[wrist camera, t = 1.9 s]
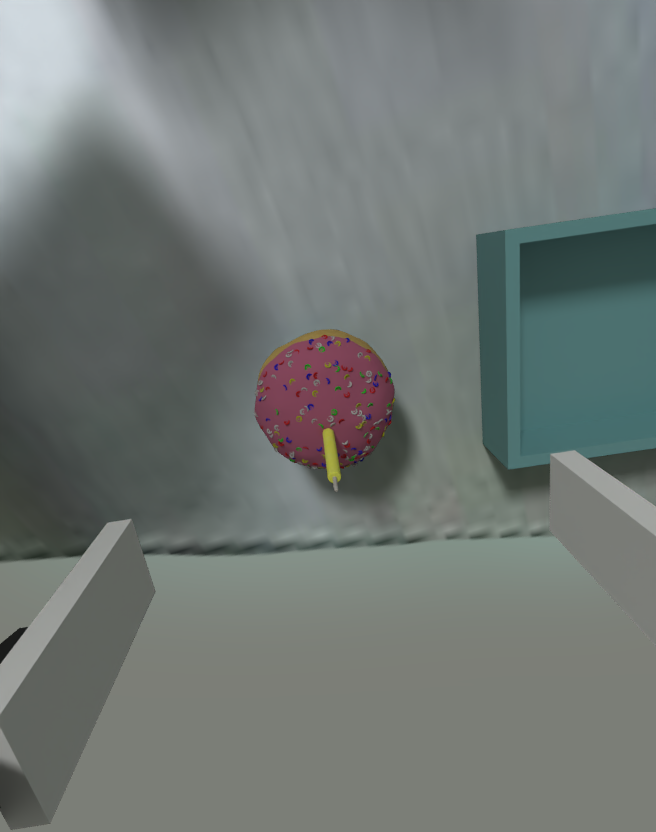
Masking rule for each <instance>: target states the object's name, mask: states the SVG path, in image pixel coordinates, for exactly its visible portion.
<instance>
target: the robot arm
mask: <svg viewBox="0 0 656 832" xmlns="http://www.w3.org/2000/svg"><path fill="white" fill-rule="evenodd" d="M550 531H551V532H552V533H553V535H554V536H555V537H556V538H557V539H558V540H559V541H560V542H561V543H562V544H563V545H564V547H565V548H566V549H567V550H568V551H569V552H570V553H571V554H572V555H573V556H574V558H575V559H577V561H578V562H579V563H580V564H581V565H582V566H583V567H584V568H585V570H587V572H588V573H589V574H590V575H591V576H592V577H593V578H594V579H595V580H596V581H597V583H598V584H599V585H600V586H601V587H602V588H603V589H604V590H605V591H606V592H607V594H608V595H609V596H610V597H611V598H612V599H613V600H614V601H615V602H616V603H617V605H618V606H620V608H621V609H622V610H623V611H624V612H625V613H626V614H627V615H628V617H629V618H630V619H631V620H632V621H633V622H634V623H635V624H636V625H637V626H638V627H639V629H640V630H641V631H642V632H643V633H644V634H645V635H646V636H647V637H648V638H649V639H650V641H651V642H652V643H653V644H654V645H655V646H656V506H654V505H653V504H651V503H650V502H649V501H647V500H646V499H644V498H643V497H641V496H640V495H638V494H637V493H636V492H634V491H633V490H631V489H630V488H628V487H627V486H625V485H624V484H623V483H621V482H620V481H618V480H617V479H615V478H614V477H613V476H611V475H610V474H608V473H607V472H605V471H604V470H602V469H601V468H600V467H598V466H597V465H595V464H594V463H592V462H591V461H590V460H588V459H587V458H585V457H584V456H582V455H581V454H579V453H578V452H577V451H575V450H573V451H566V452H560V453H553V454H550ZM154 593H155V589H154V586H153V582H152V579H151V576H150V573H149V570H148V567H147V564H146V561H145V558H144V555H143V552H142V549H141V545H140V542H139V539H138V536H137V533H136V530H135V527H134V524H133V521H132V519H128V520H121V521H115V522H108V523H107V524H106V525H105V527H104V528H103V529H102V531H101V532H100V533H99V535H98V536H97V537H96V538H95V540H94V541H93V542H92V544H91V545H90V546H89V548H88V549H87V550H86V552H85V553H84V554H83V556H82V557H81V558H80V560H79V561H78V562H77V564H76V565H75V566H74V568H73V569H72V570H71V571H70V573H69V574H68V576H67V577H66V578H65V580H64V581H63V582H62V583H61V585H60V586H59V587H58V589H57V590H56V591H55V593H54V594H53V595H52V597H51V598H50V599H49V601H48V602H47V603H46V605H45V606H44V607H43V609H42V610H41V611H40V613H39V614H38V615H37V617H36V618H35V619H34V620H33V622H32V623H31V625H30V626H29V627H25V628H19V629H18V630H17V631H16V632H14V633H13V634H12V635H11V636H9V637H8V638H7V639H6V640H5V641H3V642H2V643H1V644H0V811H1V813H2V815H3V817H4V819H5V820H6V822H7V824H8V826H9V827H10V829H11V830H13V829H20V828H26V827H32V826H39V825H45V824H50V823H51V821H52V818H53V816H54V814H55V812H56V810H57V807H58V805H59V803H60V801H61V798H62V796H63V794H64V792H65V790H66V787H67V785H68V783H69V781H70V779H71V776H72V774H73V772H74V770H75V767H76V765H77V763H78V761H79V759H80V757H81V754H82V752H83V750H84V748H85V746H86V743H87V741H88V739H89V736H90V735H91V732H92V730H93V728H94V726H95V724H96V721H97V719H98V717H99V715H100V712H101V710H102V708H103V706H104V703H105V701H106V699H107V697H108V695H109V693H110V690H111V688H112V686H113V684H114V681H115V679H116V677H117V675H118V673H119V670H120V668H121V666H122V664H123V662H124V660H125V657H126V655H127V653H128V651H129V649H130V646H131V644H132V642H133V640H134V638H135V635H136V633H137V631H138V629H139V626H140V624H141V622H142V620H143V618H144V615H145V613H146V611H147V609H148V607H149V604H150V602H151V600H152V598H153V596H154Z"/></svg>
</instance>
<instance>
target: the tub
mask: <svg viewBox="0 0 656 832" xmlns="http://www.w3.org/2000/svg"><path fill="white" fill-rule="evenodd" d="M476 240H477V272H478V303H479V335H480V367H481V399H482V431H483V444H484V445H485V446H486V447H487V449H488V450H489V451H490V452H491V453H492V454H493V455H494V456H495V457H496V458H497V459H498V460H499V461H500V462H501V463H502V464H503V465H504V466H505V467H506V468H507V469H508V470H509V469H516V468H523V467H529V466H536V465H543V464H550V454H553V453H560V452H566V451H573V450H575V451H577V452H578V453H579V454H581V455H582V456H584V457H585V458H591V457H598V456H605V455H612V454H619V453H626V452H632V451H639V450H646V449H653V448H656V208H655V209H648V210H641V211H634V212H627V213H621V214H614V215H607V216H600V217H593V218H586V219H579V220H572V221H565V222H558V223H551V224H545V225H538V226H531V227H524V228H517V229H510V230H503V231H497V232H491V233H485V234H479V235H476Z"/></svg>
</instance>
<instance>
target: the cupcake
mask: <svg viewBox="0 0 656 832" xmlns="http://www.w3.org/2000/svg"><path fill="white" fill-rule="evenodd" d="M255 395H256V403H255V412H254V414H255V417H256V420H257V422H258V424H259V425H260V428H261V429H262V430H263V432H264V433H265V435H266V436H267V438H268V439H269V441H270V443H271V444H272V446H273V447H274V450H275V451H276V452H277V451H278V452H279V453H280V454H281V455H283V456H284V457H286V458H288V459H289V460H290V461H292V462H294V463H298V464H300V465H305V466H307V467H308V468H310V469H311V467H312V468H313V469H317V468H319V469H321V468H327V476H328V480H329V481H330V482H331V483H333V486H334V491H335V492H337V491H338V484H337V482H339V481H340V480H341V473H340V468H343V469H344V467H349V466H350V465H351V464H352V466H356V465H357V464H358V463H357V461H363V459H364V457H366V456H370V455H371V454H372V451H373V450H374V449H375V447H376V446H377V444H378V443H379V441H380V439H381V438H382V437H384V432H385V431H386V429H387V427H388V425H390V424H391V418H392V410H393V403H394V401H395V398H394V386H393V382H392V379H391V373H390V372H388V370H387V368H386V366H385V365H384V363H383V361H382V360H381V358H380V357H379V356H378V355H377V354H376V352H375V351H374V350H373V349H372V348H371V347H370V346H369V345H368V344H367V343H366V342H364V341H363V340H361V339H359V338H356V337H354V336H352V335H350V334H348V333H345V332H342V331H339V330H332V329H330V330H318V331H314V332H310V333H307V334H305V335H302V336H300V337H298V338H296V339H294V340H293V341H291V342H289V343H287V344H285V345H283V346H281V347H279V348H277V349H276V350H274V351H273V353H272V354H271V355H270V356H269V357H268V358H267V359H266V361H265V362H264V364H263V366H262V368H261V370H260V373H259V377H258V384H257V390H256V391H255ZM393 398H394V399H393ZM361 459H362V460H361ZM355 463H356V465H354V464H355Z"/></svg>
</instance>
